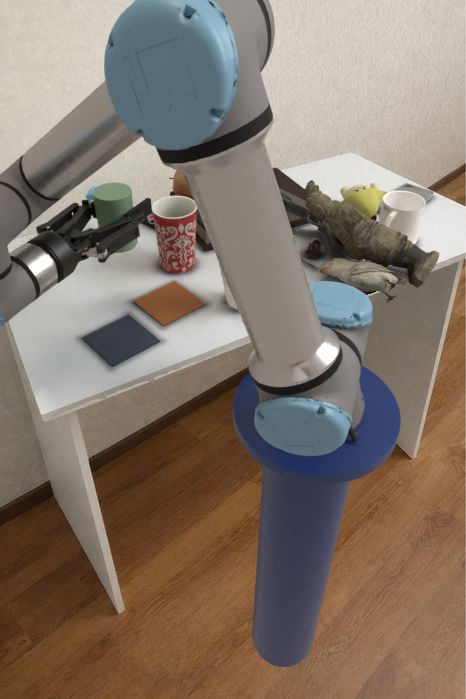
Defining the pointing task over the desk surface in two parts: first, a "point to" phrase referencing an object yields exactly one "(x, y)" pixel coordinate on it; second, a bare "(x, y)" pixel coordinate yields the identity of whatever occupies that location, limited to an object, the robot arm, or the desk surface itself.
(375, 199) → the toy
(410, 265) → the statue
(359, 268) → the decorative bird
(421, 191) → the phone
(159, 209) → the mug
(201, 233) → the book
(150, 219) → the usb flash drive
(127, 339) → the slate mat
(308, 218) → the handgun
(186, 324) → the desk surface
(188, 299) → the cork mat
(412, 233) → the mug
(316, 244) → the figurine
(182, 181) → the apple
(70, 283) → the desk surface
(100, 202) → the canister
